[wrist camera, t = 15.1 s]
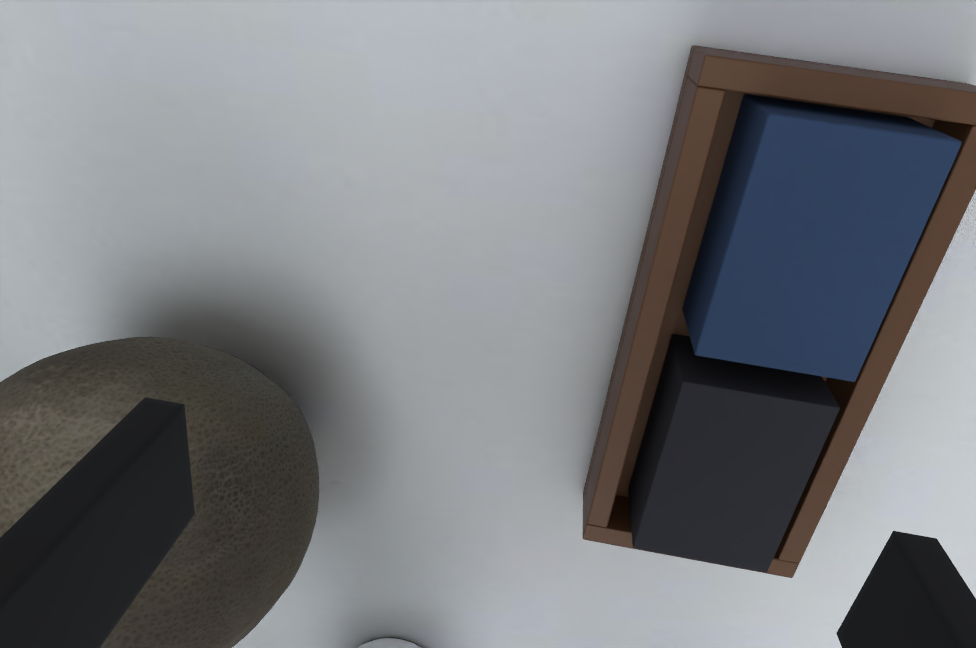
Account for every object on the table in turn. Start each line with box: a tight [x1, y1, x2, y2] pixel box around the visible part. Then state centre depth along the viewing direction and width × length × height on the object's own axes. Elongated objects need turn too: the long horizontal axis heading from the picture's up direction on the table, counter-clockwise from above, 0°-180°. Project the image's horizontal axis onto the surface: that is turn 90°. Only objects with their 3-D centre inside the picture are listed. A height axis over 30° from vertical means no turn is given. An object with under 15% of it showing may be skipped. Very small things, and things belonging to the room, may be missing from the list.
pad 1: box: [682, 94, 962, 382], centre depth 25 cm, size 9×6×4 cm, turn 173°
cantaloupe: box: [0, 337, 319, 648], centre depth 29 cm, size 14×14×15 cm
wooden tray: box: [583, 46, 976, 578], centre depth 29 cm, size 22×10×3 cm, turn 173°
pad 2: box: [628, 334, 840, 573], centre depth 30 cm, size 9×6×4 cm, turn 173°
